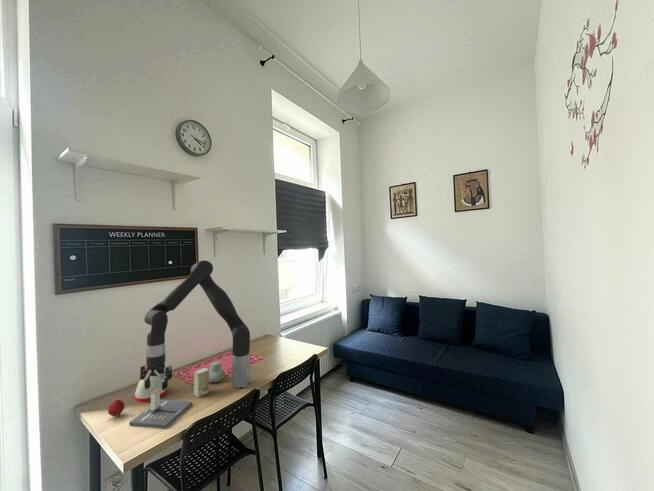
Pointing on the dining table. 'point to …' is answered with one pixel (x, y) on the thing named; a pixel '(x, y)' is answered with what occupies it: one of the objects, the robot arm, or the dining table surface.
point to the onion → (116, 408)
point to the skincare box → (201, 382)
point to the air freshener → (216, 372)
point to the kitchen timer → (145, 394)
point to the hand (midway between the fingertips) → (156, 388)
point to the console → (161, 414)
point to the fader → (155, 400)
